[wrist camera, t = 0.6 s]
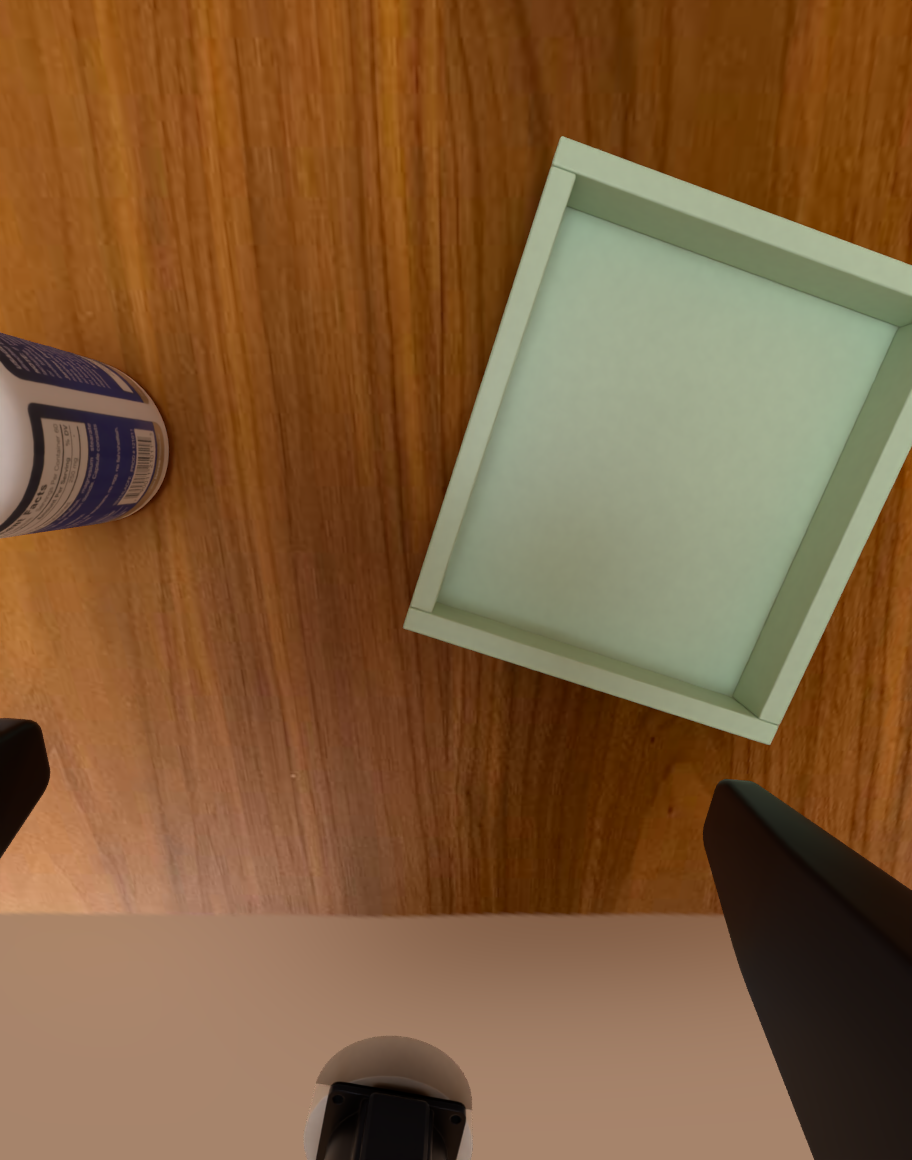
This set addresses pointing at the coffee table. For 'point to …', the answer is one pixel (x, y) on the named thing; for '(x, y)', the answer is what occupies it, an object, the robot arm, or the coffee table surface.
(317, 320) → the coffee table surface
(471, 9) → the coffee table surface
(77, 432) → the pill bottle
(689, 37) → the coffee table surface
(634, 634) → the tray
